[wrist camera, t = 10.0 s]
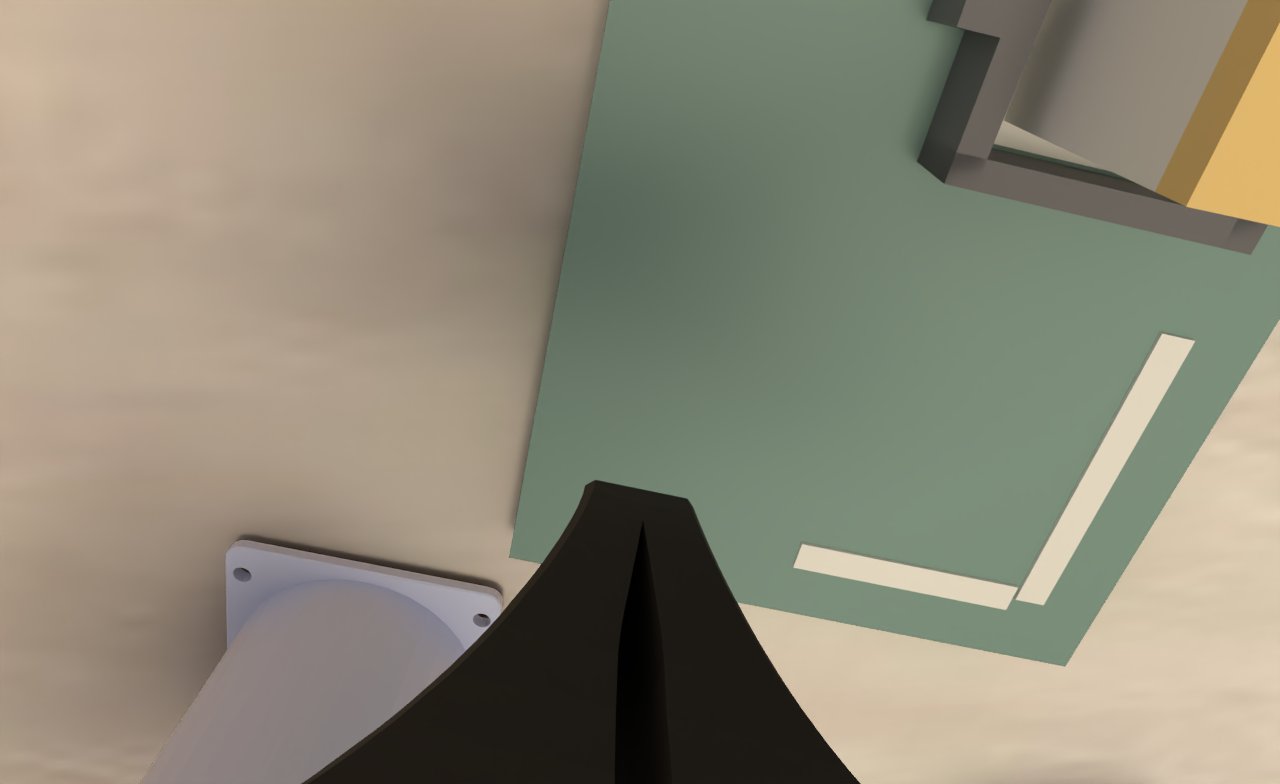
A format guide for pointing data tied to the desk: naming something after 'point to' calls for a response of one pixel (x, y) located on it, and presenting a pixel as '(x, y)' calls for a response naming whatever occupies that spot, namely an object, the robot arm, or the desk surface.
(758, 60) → the board
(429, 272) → the desk surface
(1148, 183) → the plug
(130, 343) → the desk surface
